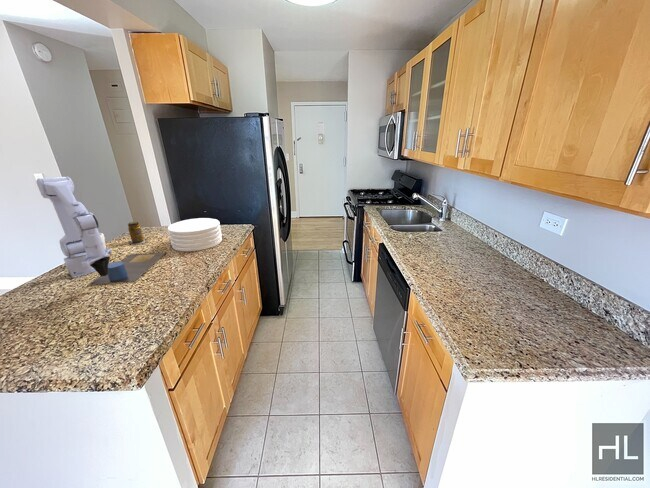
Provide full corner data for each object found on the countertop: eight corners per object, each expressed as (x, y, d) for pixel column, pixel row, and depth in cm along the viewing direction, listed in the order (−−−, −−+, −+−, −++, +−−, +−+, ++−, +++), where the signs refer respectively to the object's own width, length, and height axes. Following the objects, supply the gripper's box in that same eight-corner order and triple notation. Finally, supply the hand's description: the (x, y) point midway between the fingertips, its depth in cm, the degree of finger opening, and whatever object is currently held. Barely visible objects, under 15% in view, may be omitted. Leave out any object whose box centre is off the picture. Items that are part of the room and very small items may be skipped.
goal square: (147, 261, 133) (147, 261, 133) (128, 262, 132) (128, 262, 132) (155, 254, 141) (155, 254, 141) (138, 255, 140) (138, 255, 140)
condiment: (144, 238, 164) (139, 220, 160) (145, 242, 158) (140, 223, 154) (130, 241, 160) (124, 222, 156) (131, 245, 154) (125, 226, 150)
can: (112, 282, 112) (107, 269, 110) (107, 278, 116) (102, 265, 114) (129, 276, 117) (125, 264, 115) (124, 272, 121) (120, 260, 119)
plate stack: (231, 237, 168) (228, 219, 163) (201, 253, 143) (197, 234, 138) (195, 233, 175) (192, 216, 170) (160, 248, 150) (155, 229, 145)
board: (134, 282, 114) (134, 281, 114) (89, 284, 111) (89, 284, 111) (166, 253, 143) (165, 252, 143) (130, 255, 141) (130, 254, 141)
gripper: (91, 251, 97) (103, 283, 102) (115, 238, 110) (124, 266, 115) (70, 252, 96) (83, 284, 101) (97, 239, 109) (107, 267, 114)
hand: (104, 275), depth 108 cm, fingers closed
